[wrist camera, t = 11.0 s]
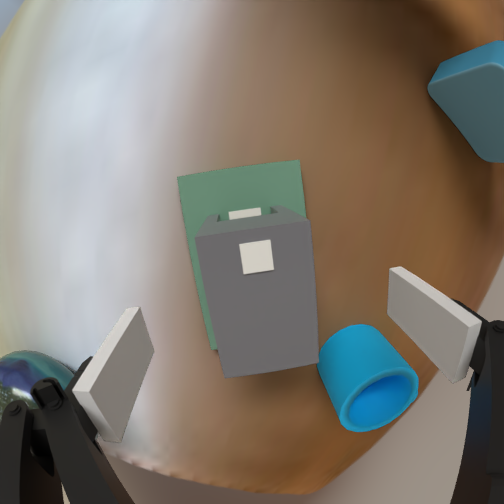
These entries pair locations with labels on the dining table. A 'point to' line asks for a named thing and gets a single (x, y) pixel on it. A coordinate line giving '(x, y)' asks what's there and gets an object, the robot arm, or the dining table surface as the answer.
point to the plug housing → (260, 291)
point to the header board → (236, 203)
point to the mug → (365, 378)
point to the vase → (28, 376)
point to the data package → (474, 97)
